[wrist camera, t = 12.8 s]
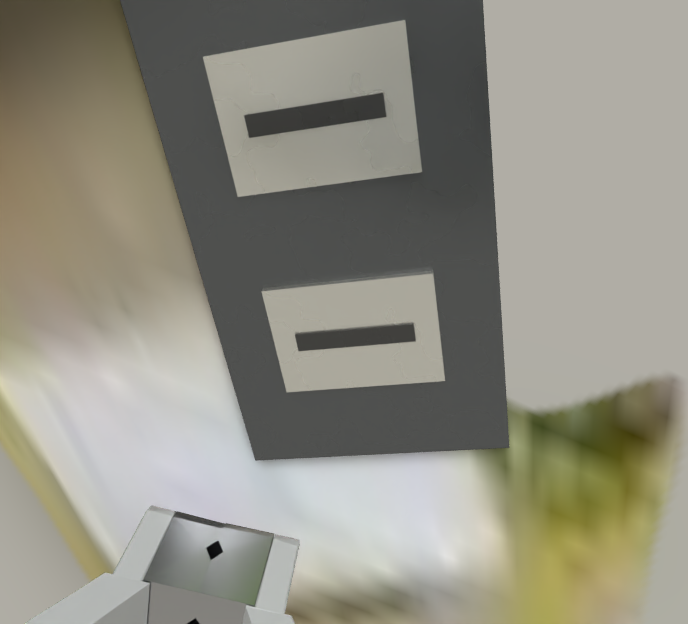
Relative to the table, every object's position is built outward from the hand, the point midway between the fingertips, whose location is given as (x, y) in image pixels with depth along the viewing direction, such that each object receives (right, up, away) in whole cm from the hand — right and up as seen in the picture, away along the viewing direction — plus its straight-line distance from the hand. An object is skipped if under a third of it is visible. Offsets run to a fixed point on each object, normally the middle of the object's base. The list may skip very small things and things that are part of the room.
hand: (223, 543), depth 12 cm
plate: (+2, +8, +12) cm, 15 cm away
